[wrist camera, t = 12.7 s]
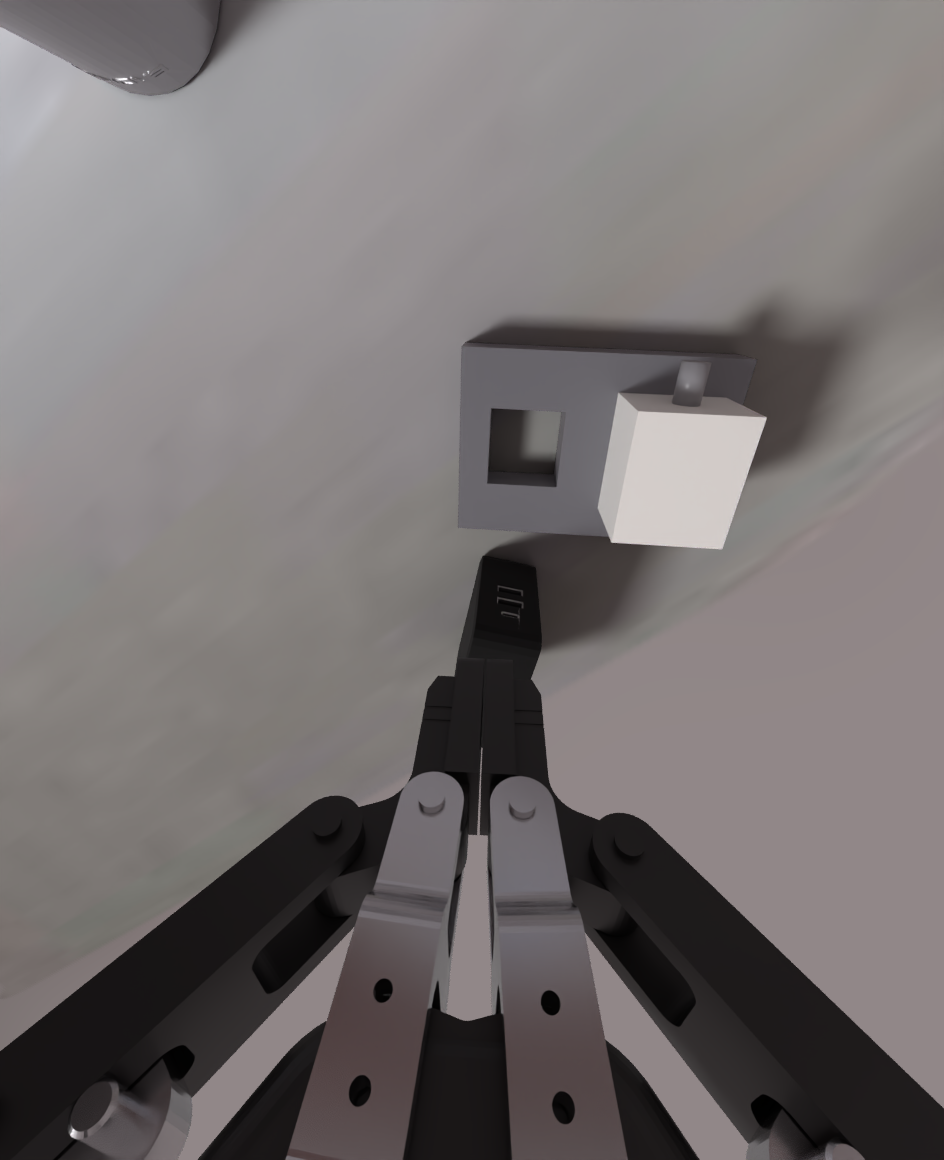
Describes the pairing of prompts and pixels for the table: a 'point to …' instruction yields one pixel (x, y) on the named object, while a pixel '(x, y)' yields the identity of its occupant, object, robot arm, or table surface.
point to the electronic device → (503, 618)
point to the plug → (677, 464)
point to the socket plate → (561, 425)
